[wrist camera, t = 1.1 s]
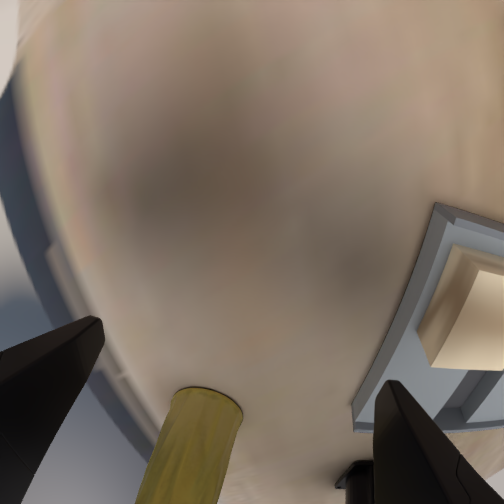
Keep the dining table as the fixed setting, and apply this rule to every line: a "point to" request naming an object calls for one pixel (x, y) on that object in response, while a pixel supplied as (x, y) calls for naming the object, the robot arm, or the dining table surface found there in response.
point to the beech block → (466, 313)
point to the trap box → (410, 348)
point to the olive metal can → (192, 450)
